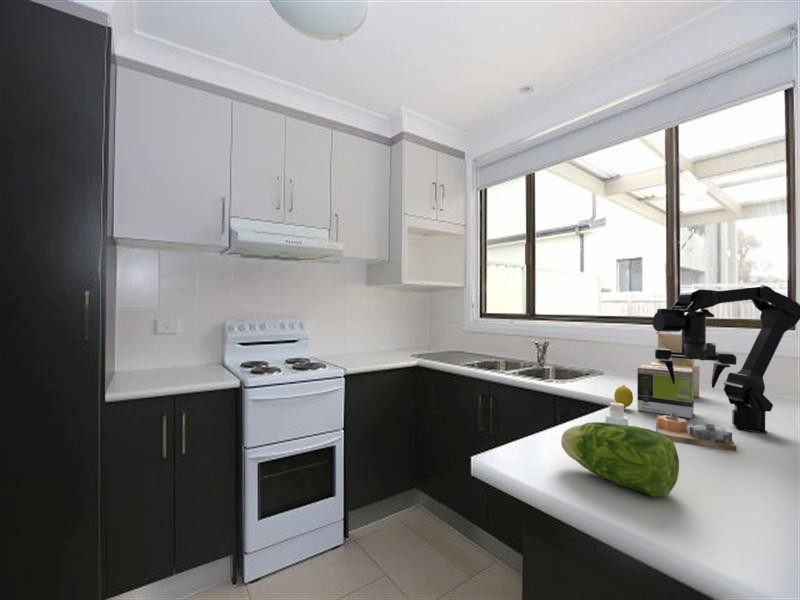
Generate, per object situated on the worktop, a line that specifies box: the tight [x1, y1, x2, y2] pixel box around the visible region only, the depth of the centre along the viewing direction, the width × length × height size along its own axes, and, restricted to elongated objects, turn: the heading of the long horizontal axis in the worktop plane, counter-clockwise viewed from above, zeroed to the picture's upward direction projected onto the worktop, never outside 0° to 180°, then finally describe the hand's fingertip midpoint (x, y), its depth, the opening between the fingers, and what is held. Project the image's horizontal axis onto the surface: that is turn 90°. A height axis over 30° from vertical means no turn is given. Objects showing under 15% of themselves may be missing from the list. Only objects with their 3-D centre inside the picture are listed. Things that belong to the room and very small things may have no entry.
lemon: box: [613, 384, 634, 409], centre depth 134 cm, size 6×6×8 cm
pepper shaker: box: [604, 402, 629, 426], centre depth 100 cm, size 4×4×10 cm
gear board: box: [655, 412, 738, 452], centre depth 105 cm, size 16×13×5 cm
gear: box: [656, 414, 688, 431], centre depth 109 cm, size 7×7×2 cm
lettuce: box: [560, 421, 680, 498], centre depth 77 cm, size 12×21×11 cm, turn 41°
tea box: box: [636, 364, 695, 419], centre depth 131 cm, size 15×10×15 cm
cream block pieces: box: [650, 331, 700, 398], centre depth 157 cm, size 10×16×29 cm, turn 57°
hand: (692, 385), depth 114 cm, fingers open, 9 cm apart
